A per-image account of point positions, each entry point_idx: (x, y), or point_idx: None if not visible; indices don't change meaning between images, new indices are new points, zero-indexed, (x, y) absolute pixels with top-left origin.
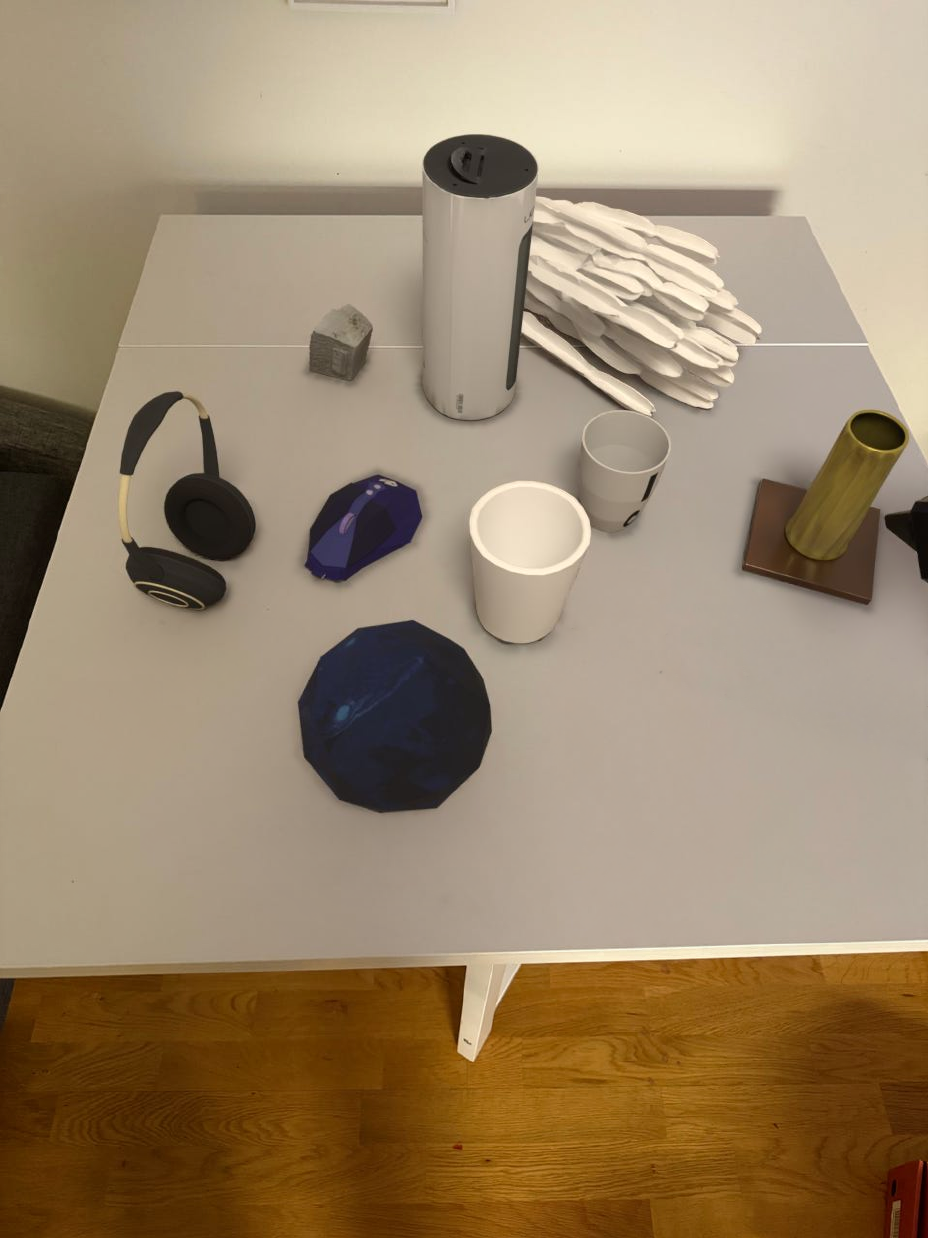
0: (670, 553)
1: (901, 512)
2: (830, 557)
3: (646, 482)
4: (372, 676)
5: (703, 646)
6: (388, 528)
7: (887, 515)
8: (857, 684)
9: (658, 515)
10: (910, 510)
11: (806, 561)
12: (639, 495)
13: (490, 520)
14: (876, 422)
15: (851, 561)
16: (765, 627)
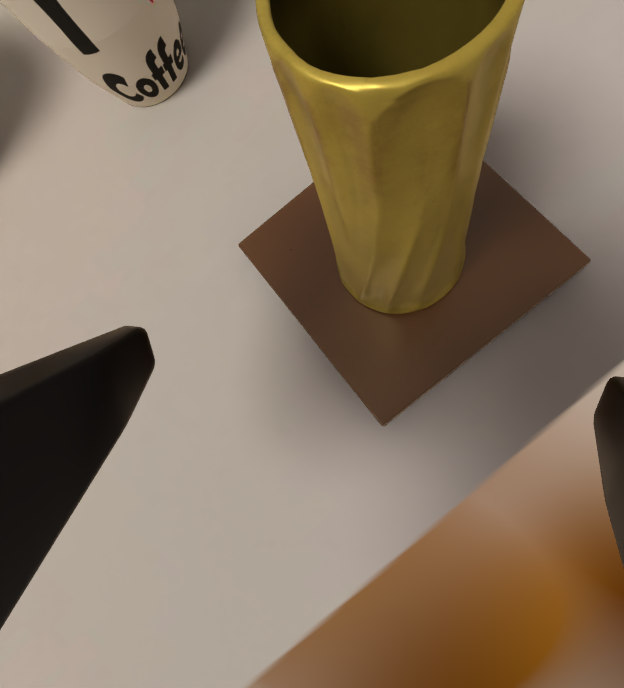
0: (173, 173)
1: (37, 367)
2: (376, 307)
3: (31, 5)
4: None
5: (90, 338)
6: None
7: (104, 334)
8: (234, 540)
9: (211, 103)
10: (7, 389)
11: (337, 291)
12: (55, 36)
13: None
14: None
15: (418, 334)
16: (192, 362)
